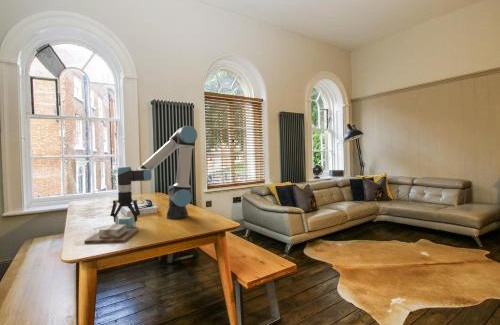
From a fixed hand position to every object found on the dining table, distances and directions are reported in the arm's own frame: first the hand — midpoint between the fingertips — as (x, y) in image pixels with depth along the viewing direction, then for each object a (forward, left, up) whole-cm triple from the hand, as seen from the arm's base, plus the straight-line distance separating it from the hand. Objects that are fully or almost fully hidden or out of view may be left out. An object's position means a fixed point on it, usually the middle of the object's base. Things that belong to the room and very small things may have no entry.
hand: (125, 226), depth 165 cm
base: (-1, +19, 0) cm, 19 cm away
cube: (0, 0, 0) cm, 0 cm away
